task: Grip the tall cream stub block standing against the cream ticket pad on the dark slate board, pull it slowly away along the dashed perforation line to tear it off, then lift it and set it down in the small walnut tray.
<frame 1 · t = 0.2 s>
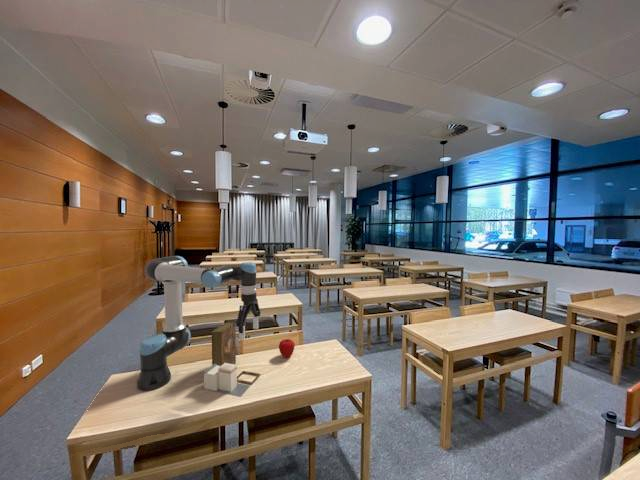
hand: (249, 333, 137), 27 cm above the table, fingers open, 13 cm apart
book: (225, 369, 152), on the table
stub: (227, 387, 133), point 1 cm above the table, touching board
apple: (286, 356, 168), on the table
board: (226, 389, 133), on the table
ticket pad: (215, 385, 135), resting on board
tray: (247, 380, 141), on the table
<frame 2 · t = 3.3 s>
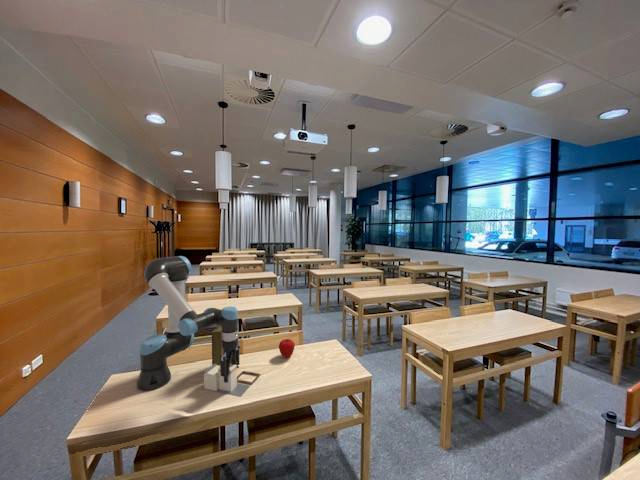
hand: (230, 384, 133), 3 cm above the table, fingers closed on stub, 5 cm apart
stub: (227, 387, 133), point 1 cm above the table, touching board, gripper
everything else where it was.
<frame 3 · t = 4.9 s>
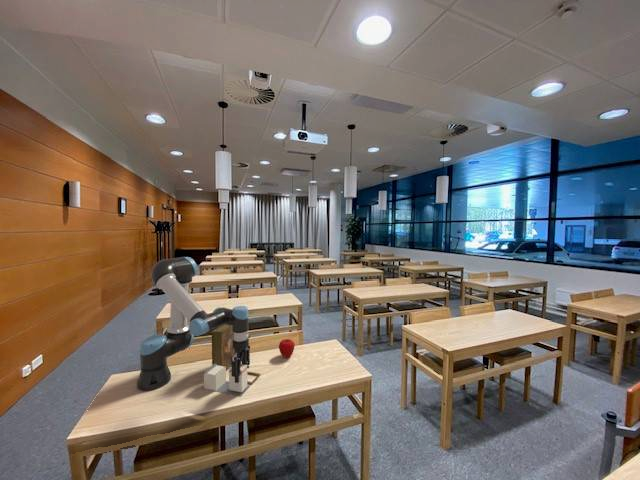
hand: (241, 384, 131), 4 cm above the table, fingers closed on stub, 5 cm apart
stub: (238, 388, 131), point 2 cm above the table, touching gripper
everything else where it was.
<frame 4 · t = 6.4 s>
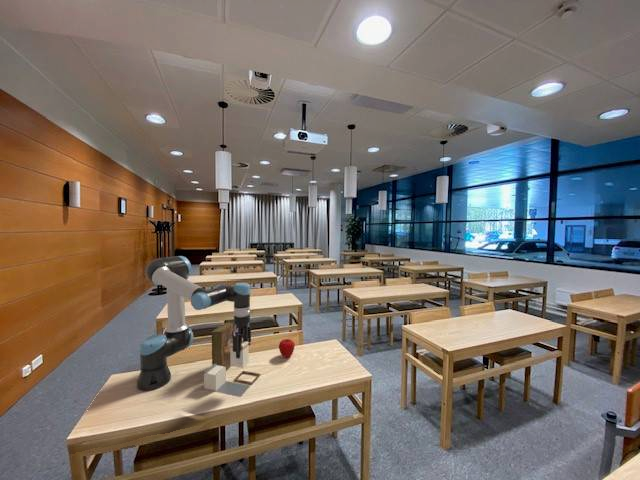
hand: (242, 360, 131), 16 cm above the table, fingers closed on stub, 5 cm apart
stub: (239, 364, 132), point 14 cm above the table, touching gripper
everything else where it was.
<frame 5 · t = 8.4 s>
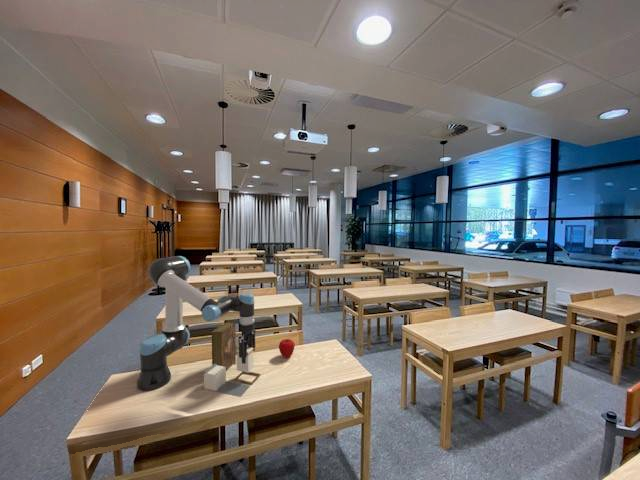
hand: (247, 365, 141), 8 cm above the table, fingers closed on stub, 5 cm apart
stub: (245, 369, 141), point 6 cm above the table, touching gripper
everything else where it was.
when the fingers open (4 cm above the table, at t = 9.9 s): stub stays where it is, resting on tray.
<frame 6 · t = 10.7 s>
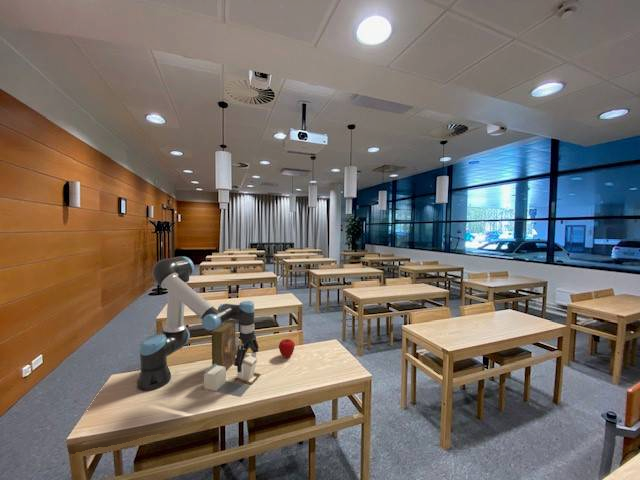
hand: (247, 370, 141), 6 cm above the table, fingers open, 13 cm apart
stub: (244, 377, 142), point 1 cm above the table, tilted 13°, touching tray
everything else where it was.
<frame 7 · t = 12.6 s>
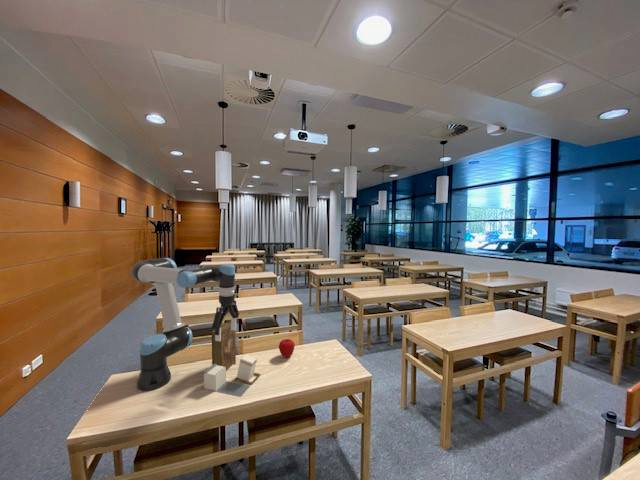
hand: (226, 335, 136), 26 cm above the table, fingers open, 13 cm apart
nothing on the table moved.
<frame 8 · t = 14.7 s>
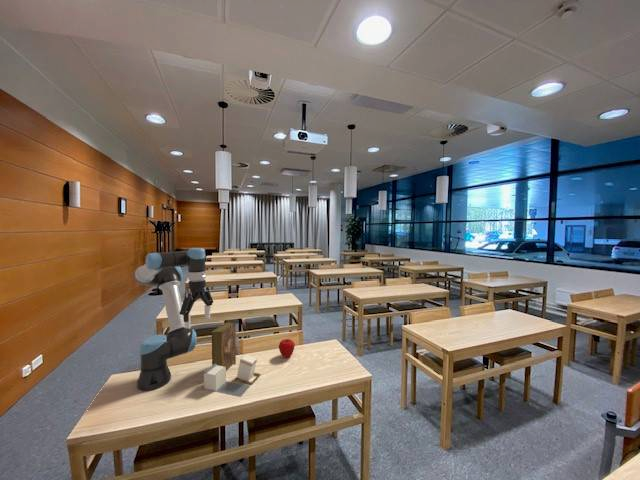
hand: (198, 322, 130), 35 cm above the table, fingers open, 13 cm apart
nothing on the table moved.
at the end: stub inside the target area on the tray (1.6 cm from its centre), point 1.4 cm above the tray's base; stub moved 10.6 cm from its start; the gripper is holding nothing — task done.
